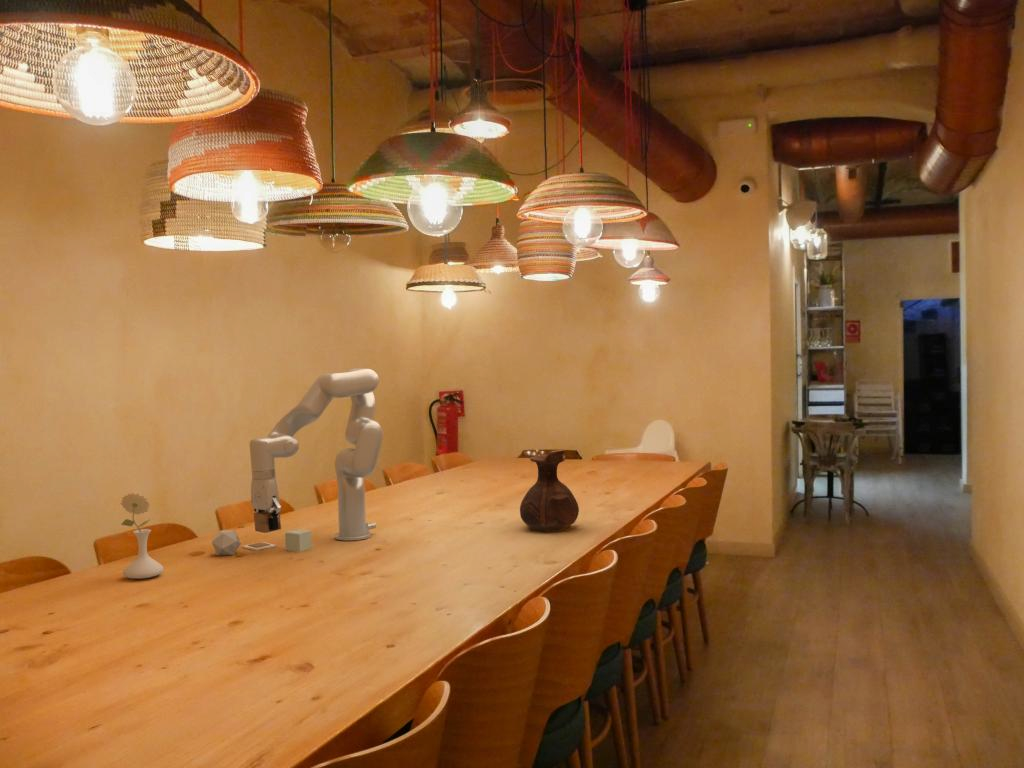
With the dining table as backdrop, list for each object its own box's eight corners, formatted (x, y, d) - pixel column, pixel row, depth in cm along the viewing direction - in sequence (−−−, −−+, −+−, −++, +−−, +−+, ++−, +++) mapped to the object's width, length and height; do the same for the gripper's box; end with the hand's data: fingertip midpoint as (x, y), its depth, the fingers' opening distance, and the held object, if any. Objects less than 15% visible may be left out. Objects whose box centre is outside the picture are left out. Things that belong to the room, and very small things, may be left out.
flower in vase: (172, 573, 268) (169, 491, 268) (145, 583, 258) (142, 497, 257) (137, 570, 273) (134, 489, 272) (109, 580, 262) (106, 495, 261)
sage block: (297, 546, 303) (296, 529, 303) (311, 548, 301) (310, 530, 300) (285, 550, 298) (285, 532, 298) (299, 552, 295) (299, 534, 295)
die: (224, 560, 287) (242, 534, 290) (202, 547, 289) (220, 521, 291) (231, 563, 295) (249, 538, 298) (210, 550, 296) (228, 525, 299)
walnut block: (270, 527, 301) (269, 509, 301) (281, 529, 297) (279, 511, 297) (255, 531, 297) (253, 513, 296) (265, 533, 293) (264, 515, 292)
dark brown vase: (510, 532, 320) (508, 449, 319) (531, 521, 340) (530, 443, 339) (568, 536, 312) (566, 450, 311) (586, 524, 332) (585, 444, 331)
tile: (262, 543, 309) (262, 541, 309) (276, 546, 304) (276, 544, 304) (242, 547, 303) (242, 545, 303) (255, 550, 298) (255, 548, 298)
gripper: (239, 475, 298) (243, 528, 300) (269, 478, 287) (273, 533, 288) (258, 471, 304) (262, 523, 305) (288, 474, 293) (292, 528, 294)
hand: (267, 527), depth 297 cm, fingers closed on walnut block, 6 cm apart
